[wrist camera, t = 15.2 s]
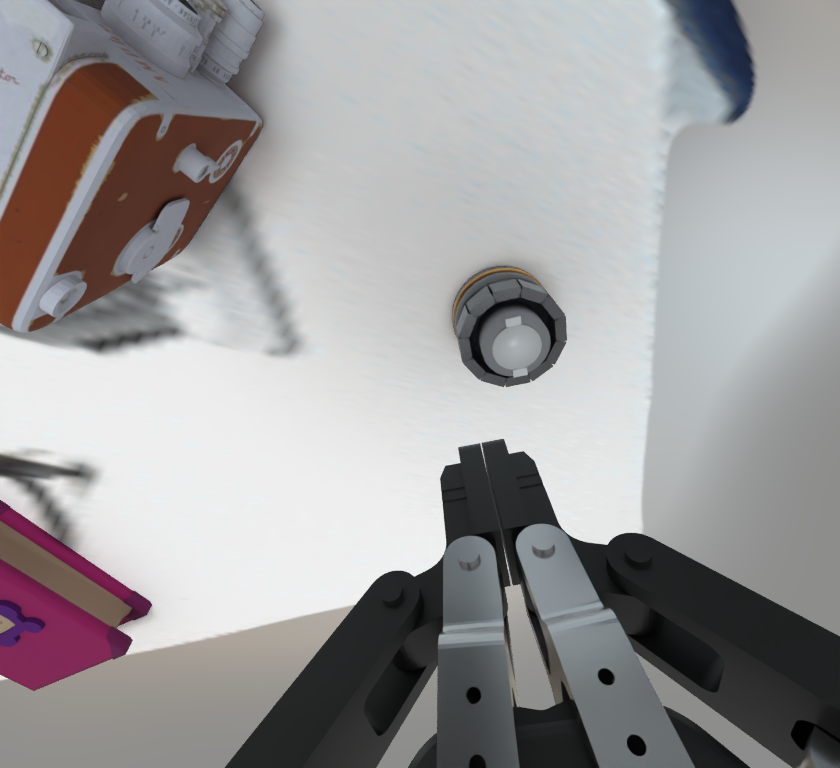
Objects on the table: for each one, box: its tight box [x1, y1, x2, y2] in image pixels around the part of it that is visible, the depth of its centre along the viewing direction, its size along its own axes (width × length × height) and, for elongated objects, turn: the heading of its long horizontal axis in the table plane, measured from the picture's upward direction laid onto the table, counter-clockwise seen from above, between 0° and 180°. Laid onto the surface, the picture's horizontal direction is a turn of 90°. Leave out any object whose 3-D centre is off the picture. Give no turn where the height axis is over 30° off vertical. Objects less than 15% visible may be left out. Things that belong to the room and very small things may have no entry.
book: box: [0, 500, 152, 691], centre depth 57 cm, size 21×28×8 cm
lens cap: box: [477, 300, 551, 378], centre depth 37 cm, size 6×6×4 cm
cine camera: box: [0, 0, 265, 333], centre depth 26 cm, size 9×19×20 cm, turn 137°
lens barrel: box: [453, 266, 567, 387], centre depth 40 cm, size 9×9×6 cm
